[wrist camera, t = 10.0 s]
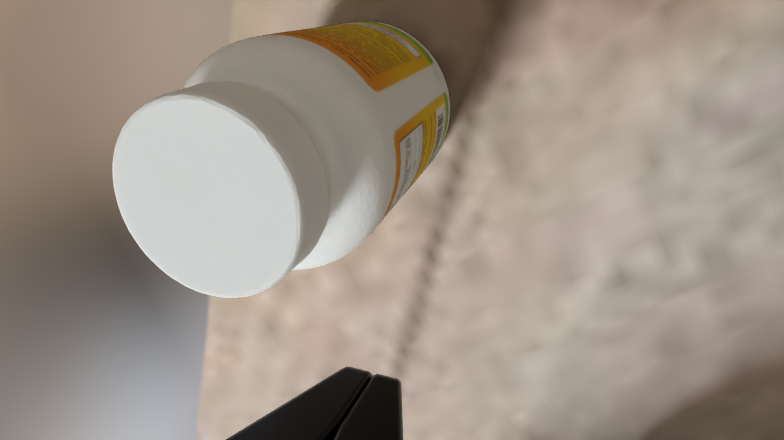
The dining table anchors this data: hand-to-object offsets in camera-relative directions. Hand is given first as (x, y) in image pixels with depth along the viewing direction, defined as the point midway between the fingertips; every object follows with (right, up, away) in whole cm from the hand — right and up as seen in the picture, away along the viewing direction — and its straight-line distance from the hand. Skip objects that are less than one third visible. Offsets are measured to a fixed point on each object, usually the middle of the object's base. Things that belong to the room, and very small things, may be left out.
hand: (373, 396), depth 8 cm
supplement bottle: (0, +6, +11) cm, 12 cm away
